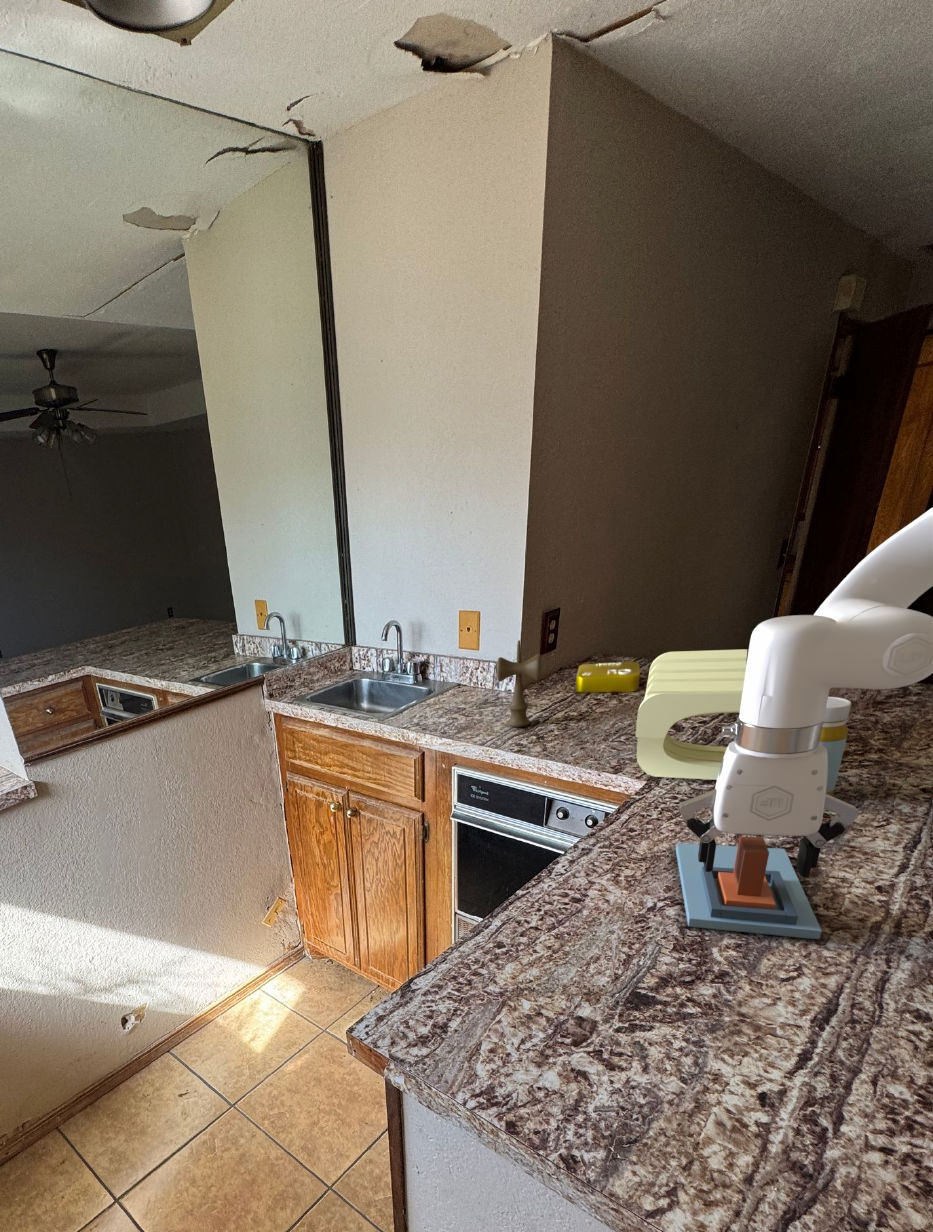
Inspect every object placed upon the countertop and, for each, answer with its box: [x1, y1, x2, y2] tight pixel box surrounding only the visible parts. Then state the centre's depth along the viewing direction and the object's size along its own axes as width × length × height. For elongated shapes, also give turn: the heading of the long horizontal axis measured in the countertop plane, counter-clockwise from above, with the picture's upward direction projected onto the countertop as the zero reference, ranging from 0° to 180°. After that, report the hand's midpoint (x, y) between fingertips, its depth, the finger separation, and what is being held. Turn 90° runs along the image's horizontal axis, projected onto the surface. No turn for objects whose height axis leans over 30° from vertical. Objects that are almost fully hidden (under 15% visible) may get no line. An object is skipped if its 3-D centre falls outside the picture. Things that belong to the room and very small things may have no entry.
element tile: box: [575, 661, 641, 694], centre depth 173 cm, size 15×15×5 cm
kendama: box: [496, 639, 542, 728], centre depth 150 cm, size 6×10×20 cm, turn 71°
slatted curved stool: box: [635, 649, 748, 781], centre depth 117 cm, size 30×16×18 cm, turn 151°
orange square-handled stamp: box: [717, 835, 776, 910], centre depth 79 cm, size 5×7×8 cm
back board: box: [675, 842, 823, 940], centre depth 84 cm, size 13×20×2 cm, turn 157°
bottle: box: [819, 696, 852, 796], centre depth 102 cm, size 7×7×15 cm
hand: (753, 869), depth 79 cm, fingers open, 9 cm apart
